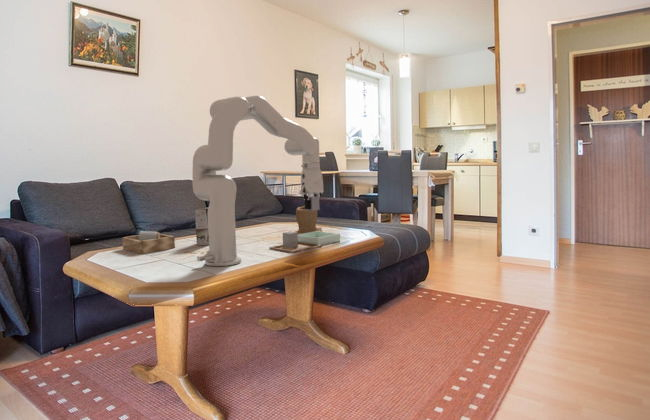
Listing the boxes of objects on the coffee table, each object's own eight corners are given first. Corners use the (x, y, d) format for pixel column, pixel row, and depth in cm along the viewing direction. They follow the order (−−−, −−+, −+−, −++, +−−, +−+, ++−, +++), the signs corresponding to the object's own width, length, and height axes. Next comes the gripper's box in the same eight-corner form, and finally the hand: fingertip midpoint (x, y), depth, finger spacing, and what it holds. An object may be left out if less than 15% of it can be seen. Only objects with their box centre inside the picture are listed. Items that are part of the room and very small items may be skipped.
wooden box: (140, 253, 178) (139, 241, 177) (122, 248, 189) (121, 237, 189) (175, 247, 189) (175, 236, 188) (156, 243, 201) (156, 232, 200)
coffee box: (210, 245, 194) (208, 208, 192) (196, 245, 194) (194, 209, 192) (216, 241, 203) (214, 206, 201) (202, 241, 203) (200, 207, 201)
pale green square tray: (318, 247, 182) (317, 238, 182) (295, 244, 192) (294, 235, 192) (340, 242, 193) (339, 233, 192) (317, 239, 202) (316, 230, 202)
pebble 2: (312, 210, 189) (312, 196, 189) (305, 210, 192) (304, 196, 192) (319, 209, 193) (319, 196, 192) (312, 209, 196) (311, 195, 195)
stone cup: (299, 239, 204) (298, 207, 203) (290, 235, 215) (289, 205, 213) (328, 236, 210) (328, 205, 209) (319, 233, 221) (318, 203, 219)
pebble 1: (290, 248, 178) (289, 233, 178) (283, 247, 181) (282, 232, 181) (298, 246, 181) (297, 232, 181) (290, 245, 184) (290, 231, 184)
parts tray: (293, 255, 168) (292, 251, 168) (269, 251, 178) (269, 247, 177) (321, 248, 180) (321, 245, 180) (298, 245, 189) (297, 241, 189)
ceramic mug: (159, 249, 187) (158, 231, 186) (138, 250, 185) (137, 232, 184) (162, 245, 197) (161, 228, 196) (142, 246, 195) (141, 229, 195)
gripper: (303, 167, 182) (304, 210, 184) (330, 166, 194) (331, 207, 196) (290, 167, 187) (292, 209, 189) (318, 166, 199) (319, 206, 201)
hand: (312, 208), depth 192 cm, fingers closed on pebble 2, 4 cm apart
